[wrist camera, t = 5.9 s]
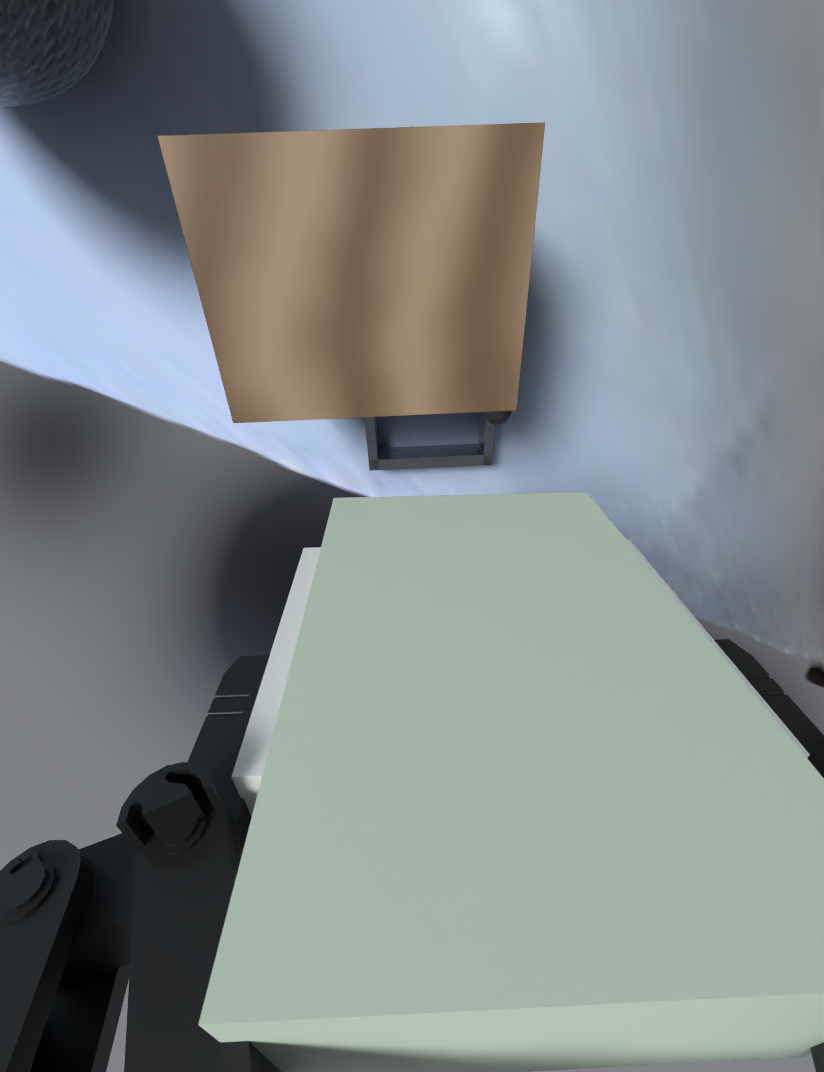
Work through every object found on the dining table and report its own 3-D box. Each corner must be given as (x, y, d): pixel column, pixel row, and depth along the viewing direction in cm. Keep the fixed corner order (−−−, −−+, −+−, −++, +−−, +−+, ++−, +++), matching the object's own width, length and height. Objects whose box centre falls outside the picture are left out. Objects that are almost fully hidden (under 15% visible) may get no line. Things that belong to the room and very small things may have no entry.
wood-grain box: (481, 178, 30) (545, 122, 18) (473, 358, 37) (516, 410, 24) (255, 187, 30) (157, 135, 18) (287, 366, 37) (233, 423, 24)
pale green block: (587, 492, 14) (993, 984, 4) (559, 609, 16) (773, 1067, 7) (333, 497, 13) (198, 1025, 4) (348, 616, 16) (284, 1094, 7)
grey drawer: (492, 357, 37) (531, 396, 27) (486, 453, 42) (517, 517, 31) (362, 363, 37) (351, 404, 26) (370, 458, 42) (364, 524, 31)
